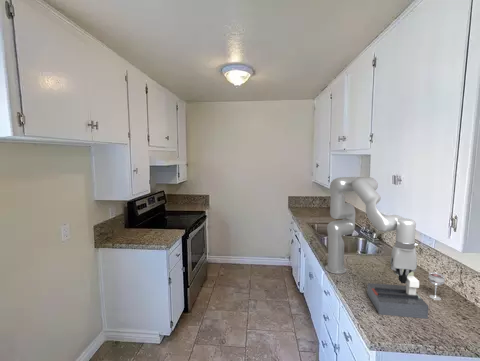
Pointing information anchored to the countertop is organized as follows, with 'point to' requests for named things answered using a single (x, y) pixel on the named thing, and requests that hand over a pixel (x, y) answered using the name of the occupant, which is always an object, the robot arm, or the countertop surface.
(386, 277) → the countertop surface
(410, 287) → the handle
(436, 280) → the wineglass
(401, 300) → the slider base
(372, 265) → the countertop surface
